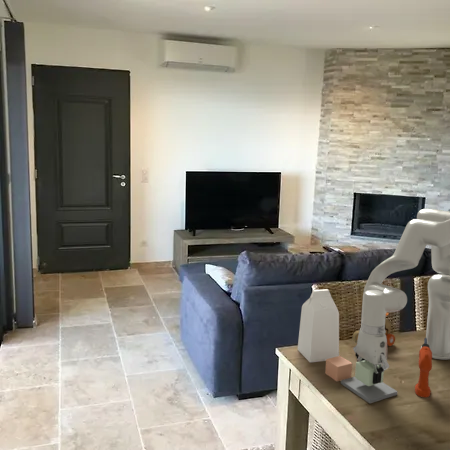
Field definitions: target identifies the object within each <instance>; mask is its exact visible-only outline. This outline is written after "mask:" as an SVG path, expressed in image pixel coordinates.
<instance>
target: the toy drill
mask: <svg viewBox="0 0 450 450" xmlns="http://www.w3.org/2000/svg"><path fill="white" fill-rule="evenodd" d="M421 346H422V348H421V347H420V349H419V352H418V357H419V358H418V369H419V377H418V382H417V383H416V384H415V385H414V393H415V394H416V395H417V397H421V398H429V397H430V396H431V391H432V390H431V387H430V386H429V376H430V371H432V369H433V361H432V360H433V358H432V351H431V349H430V347H429V345H428V344H427V338H426V337H424V340H423V343H422V345H421Z"/></svg>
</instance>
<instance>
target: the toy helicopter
mask: <svg viewBox="0 0 450 450" xmlns="http://www.w3.org/2000/svg"><path fill="white" fill-rule="evenodd" d="M389 314H390V312H387V313H386V317H387V316H389ZM359 331H360V330H356V331H354V333H353V334H352V337H351V339H352V341H353V342H354V343H356V344H357V340H358V335H359ZM385 331H386V333H385V335H386V338H387V347H391V346H393V345H394V344H395V343H396V336H395V334H392V333H391V331H392V323H391V321H390V320H389V319H387V318H385Z"/></svg>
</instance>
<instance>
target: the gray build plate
mask: <svg viewBox="0 0 450 450" xmlns="http://www.w3.org/2000/svg"><path fill="white" fill-rule="evenodd" d="M340 384H341V385H342V386H343V387H345V388H347V389H348V390H349V391H351V392H353V394H355V395H357V396H358V397H360V399H363V400H364V401H365V402H367V403H368V404H372V403H376V402H380V401H382V400H384V399H388V398H391V397H395V396H397V395H398V391H397V390H396V389H394V388H393V387H391V386H390V385H388V384H387V383H385V382H384V381H383V382H382V383H378V384H375V385H371V386H367V385H365V384H364V383H362V382H361V381H359V380H358V379H356V378H355V376H351V378H348V379H344V380H341V381H340Z"/></svg>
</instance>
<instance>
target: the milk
mask: <svg viewBox="0 0 450 450" xmlns="http://www.w3.org/2000/svg"><path fill="white" fill-rule="evenodd" d="M311 292H312V293H311V294H310V297H309V298H308V299H307V300H305V302H304V303H303V304H302V306H301V312H300V319H299V320H300V322H299V333H298V343H297V351H298V352H299V353H300V354H301V355H302V356H303V357H304V358H305V359H306V360H307V361H308V362H309V363H317V362H326V359H329V358H333V357H337V356H340V346H339V345H340V313H339V310H338V307H337V305H336V304H335V301H334V299H333V297H332V295H331V292H330V290H329V289H328V288H326V289H324V288H323V289H315V290H312V291H311Z"/></svg>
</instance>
